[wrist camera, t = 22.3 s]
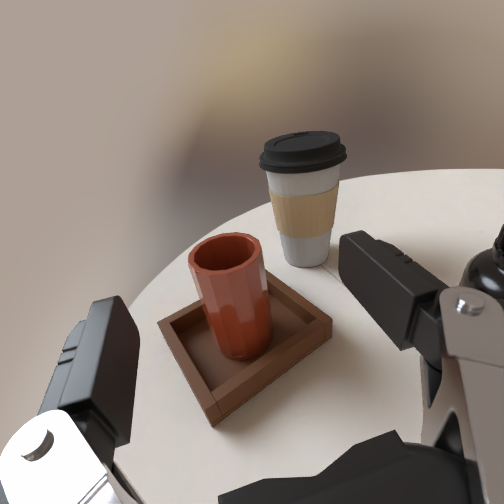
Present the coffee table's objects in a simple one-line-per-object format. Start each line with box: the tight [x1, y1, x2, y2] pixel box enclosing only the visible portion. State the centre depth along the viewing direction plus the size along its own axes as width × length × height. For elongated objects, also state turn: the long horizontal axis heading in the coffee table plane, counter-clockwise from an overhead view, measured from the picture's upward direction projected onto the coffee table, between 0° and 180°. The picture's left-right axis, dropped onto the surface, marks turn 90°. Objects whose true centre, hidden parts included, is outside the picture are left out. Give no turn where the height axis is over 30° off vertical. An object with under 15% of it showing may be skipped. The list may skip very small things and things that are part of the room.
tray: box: [157, 269, 332, 427], centre depth 27 cm, size 13×11×2 cm
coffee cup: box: [259, 131, 347, 267], centre depth 34 cm, size 9×9×15 cm
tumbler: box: [188, 232, 274, 360], centre depth 25 cm, size 6×6×10 cm
